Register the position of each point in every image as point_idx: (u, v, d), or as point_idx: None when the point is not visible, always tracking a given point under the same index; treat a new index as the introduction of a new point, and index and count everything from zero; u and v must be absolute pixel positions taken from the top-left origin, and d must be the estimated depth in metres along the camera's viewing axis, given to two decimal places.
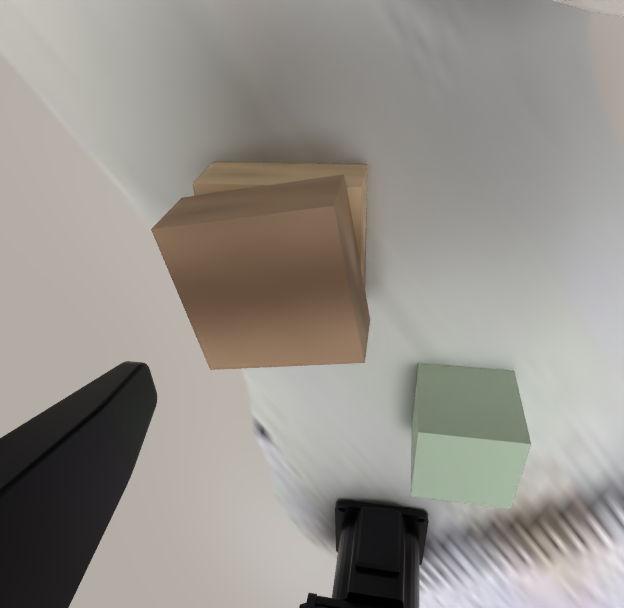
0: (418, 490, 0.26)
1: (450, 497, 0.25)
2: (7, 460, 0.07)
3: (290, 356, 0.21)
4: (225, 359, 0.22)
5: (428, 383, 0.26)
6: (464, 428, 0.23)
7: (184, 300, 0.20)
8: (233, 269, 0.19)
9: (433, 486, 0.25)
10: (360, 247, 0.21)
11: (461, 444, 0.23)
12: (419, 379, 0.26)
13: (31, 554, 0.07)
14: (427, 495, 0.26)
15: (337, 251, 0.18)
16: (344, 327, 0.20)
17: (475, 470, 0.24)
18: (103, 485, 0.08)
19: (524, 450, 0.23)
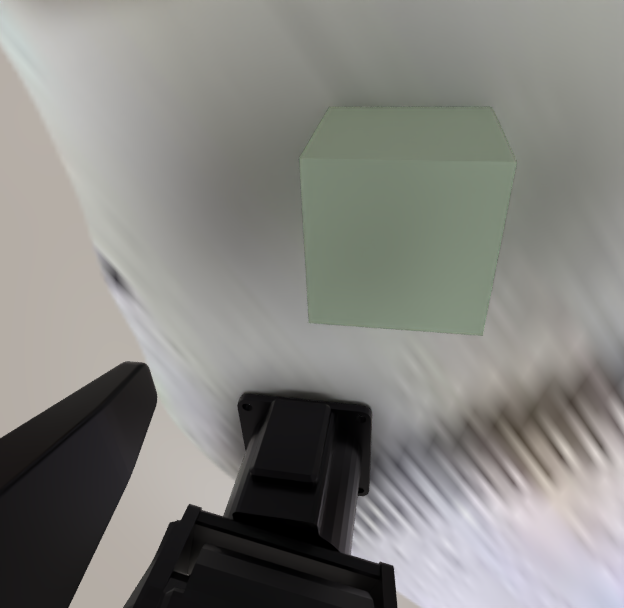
0: (319, 307, 0.14)
1: (376, 318, 0.14)
2: (7, 460, 0.07)
3: None
4: None
5: (339, 120, 0.15)
6: (390, 152, 0.12)
7: None
8: None
9: (343, 294, 0.14)
10: None
11: (382, 180, 0.12)
12: (324, 118, 0.15)
13: (31, 554, 0.07)
14: (336, 318, 0.15)
15: None
16: None
17: (415, 247, 0.13)
18: (103, 485, 0.08)
19: (504, 181, 0.11)
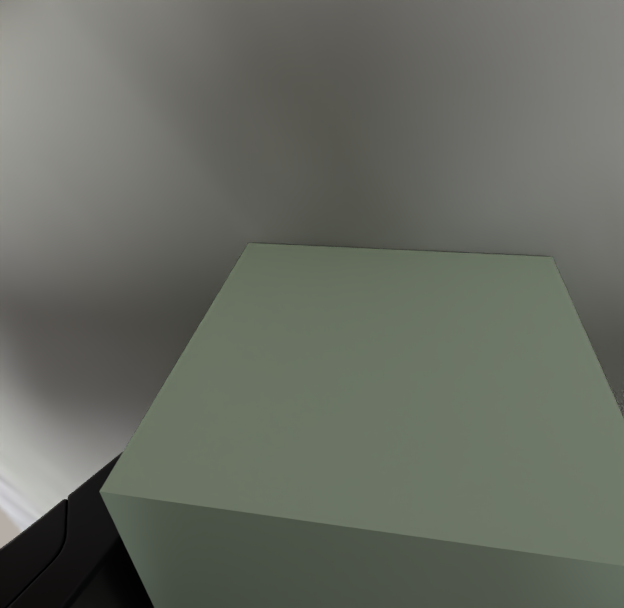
0: None
1: None
2: None
3: None
4: None
5: (251, 296, 0.07)
6: (334, 473, 0.05)
7: None
8: None
9: None
10: None
11: (315, 553, 0.05)
12: (226, 285, 0.08)
13: None
14: None
15: None
16: None
17: None
18: None
19: None
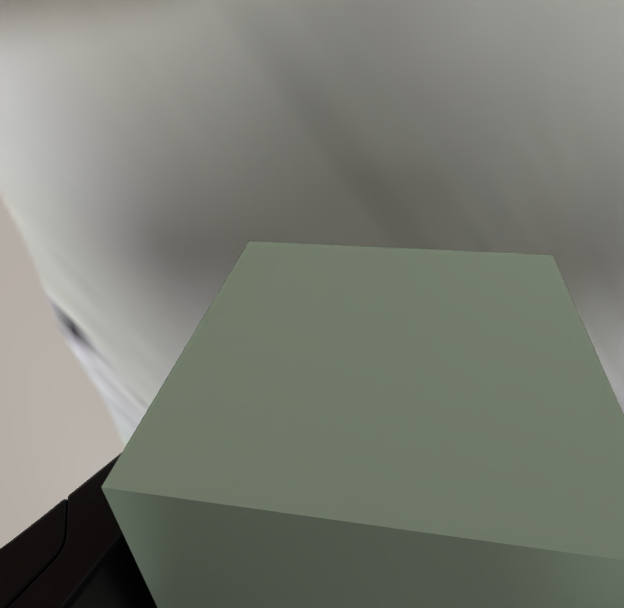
0: None
1: None
2: None
3: None
4: None
5: (252, 293, 0.07)
6: (335, 470, 0.05)
7: None
8: None
9: None
10: None
11: (316, 549, 0.05)
12: (227, 283, 0.08)
13: None
14: None
15: None
16: None
17: None
18: None
19: None
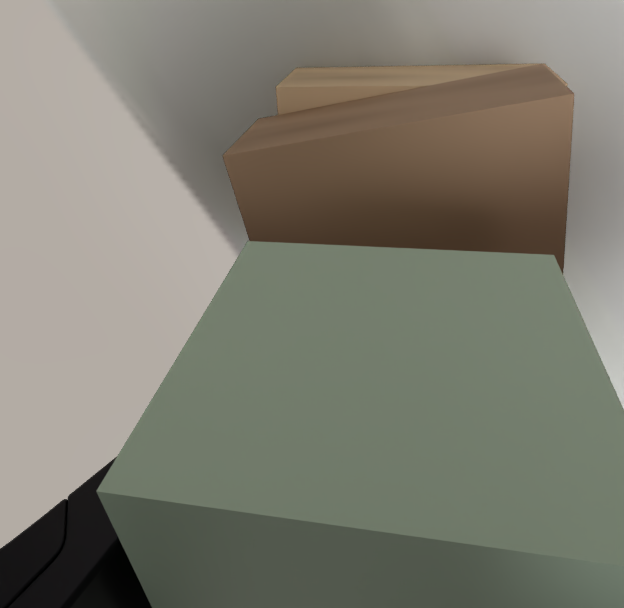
0: None
1: None
2: None
3: None
4: None
5: (250, 294, 0.07)
6: (334, 473, 0.05)
7: None
8: (358, 224, 0.11)
9: None
10: None
11: (314, 554, 0.05)
12: (225, 284, 0.07)
13: None
14: None
15: (558, 186, 0.10)
16: None
17: None
18: None
19: None
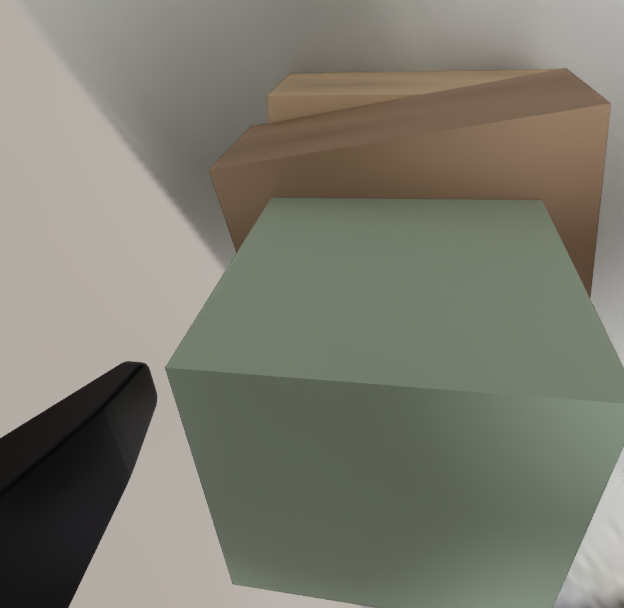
0: (247, 569, 0.08)
1: (346, 592, 0.08)
2: (7, 460, 0.07)
3: None
4: None
5: (277, 235, 0.08)
6: (355, 351, 0.06)
7: None
8: None
9: (285, 559, 0.08)
10: None
11: (340, 413, 0.06)
12: (254, 229, 0.09)
13: (31, 554, 0.07)
14: (278, 583, 0.08)
15: (588, 206, 0.09)
16: None
17: (412, 514, 0.06)
18: (103, 485, 0.08)
19: (606, 435, 0.05)
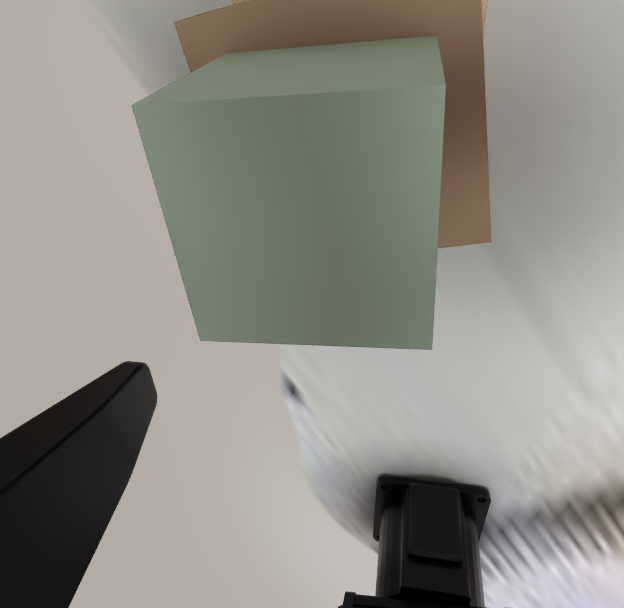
0: (209, 320, 0.11)
1: (285, 331, 0.10)
2: (7, 460, 0.07)
3: None
4: None
5: (226, 64, 0.11)
6: (265, 89, 0.08)
7: None
8: None
9: (235, 301, 0.10)
10: None
11: (255, 131, 0.08)
12: (209, 63, 0.11)
13: (31, 554, 0.07)
14: (234, 332, 0.11)
15: (474, 34, 0.11)
16: (467, 181, 0.13)
17: (318, 228, 0.09)
18: (103, 485, 0.08)
19: (430, 119, 0.07)
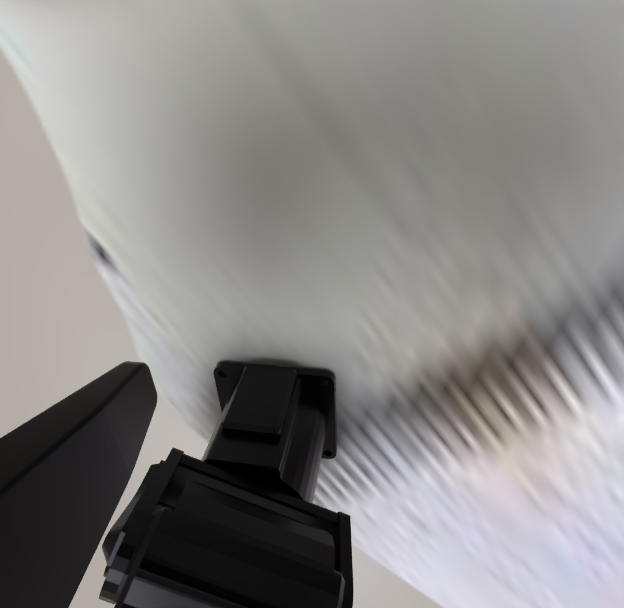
0: None
1: None
2: (7, 460, 0.07)
3: None
4: None
5: None
6: None
7: None
8: None
9: None
10: None
11: None
12: None
13: (31, 554, 0.07)
14: None
15: None
16: None
17: None
18: (103, 485, 0.08)
19: None
